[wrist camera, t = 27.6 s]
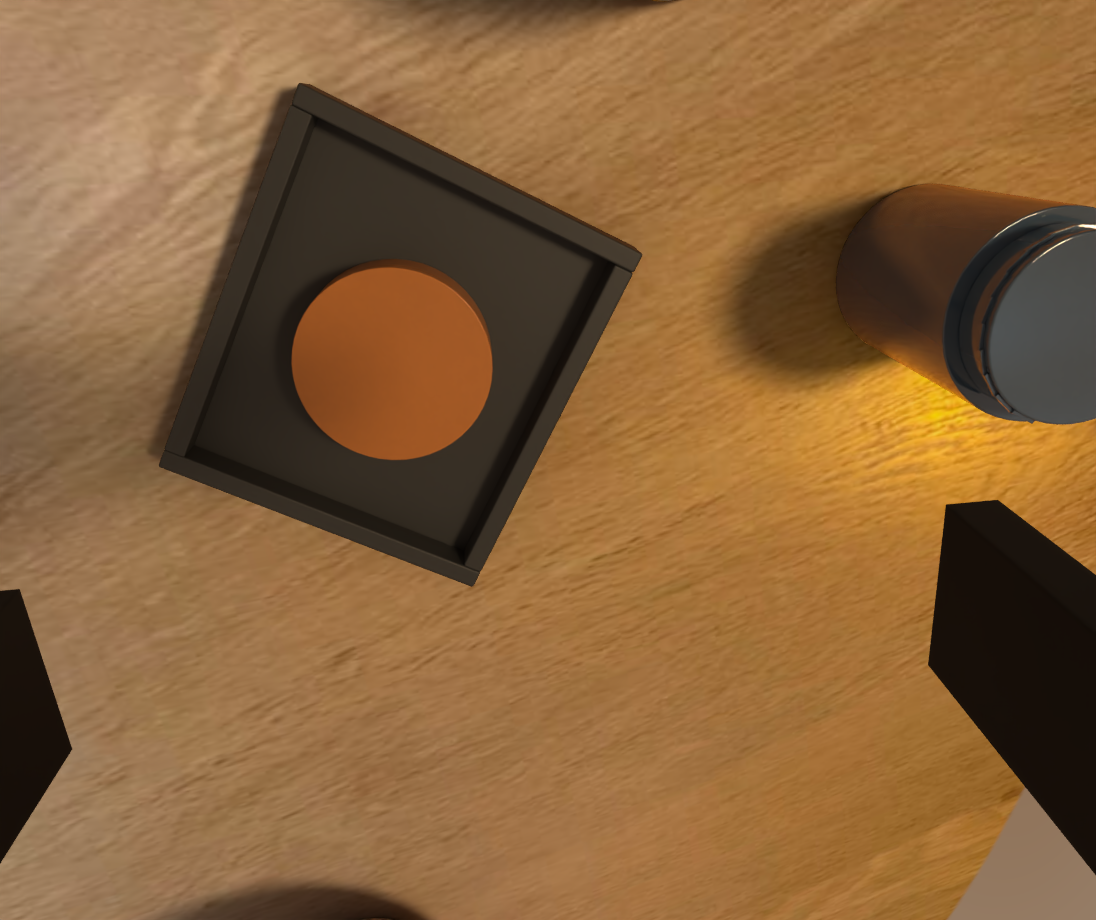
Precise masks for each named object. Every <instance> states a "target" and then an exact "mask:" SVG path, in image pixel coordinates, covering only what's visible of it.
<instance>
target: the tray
mask: <svg viewBox="0 0 1096 920" xmlns="http://www.w3.org/2000/svg"><path fill="white" fill-rule="evenodd" d="M641 257H642V253H641V252H639V251H638V250H637V249H636V248H635V247H634V246H632V245H630V244H628V243H626V242H624V241H622V240H620V239H618V238H616V237H614V236H612V235H610V234H608V233H606V232H604V231H602V230H600V229H598V228H596V227H594V226H592V225H590V224H588V223H586V222H584V221H582V220H580V219H578V218H576V217H574V216H572V215H570V214H568V213H566V212H564V211H562V210H560V209H558V208H556V207H554V206H552V205H550V204H548V203H546V202H544V201H542V200H540V199H538V198H536V197H534V196H532V195H530V194H528V193H526V192H524V191H522V190H520V189H518V188H516V187H514V186H512V185H510V184H508V183H506V182H504V181H502V180H500V179H498V178H496V177H494V176H492V175H490V174H488V173H486V172H484V171H482V170H480V169H478V168H476V167H474V166H472V165H470V164H468V163H466V162H464V161H462V160H460V159H458V158H456V157H454V156H452V155H450V154H448V153H446V152H444V151H442V150H440V149H438V148H436V147H434V146H432V145H430V144H428V143H426V142H424V141H422V140H420V139H418V138H416V137H414V136H412V135H410V134H408V133H406V132H404V131H402V130H400V129H398V128H396V127H394V126H392V125H390V124H388V123H386V122H384V121H382V120H380V119H378V118H376V117H374V116H372V115H370V114H368V113H366V112H364V111H362V110H360V109H358V108H356V107H354V106H352V105H350V104H348V103H346V102H344V101H342V100H340V99H338V98H336V97H334V96H332V95H330V94H328V93H326V92H324V91H322V90H320V89H318V88H316V87H314V86H312V85H310V84H303V83H299V84H298V86H297V89H296V92H295V94H294V97H293V100H292V105H290V107H289V110H288V113H287V116H286V118H285V121H284V124H283V127H282V129H281V132H280V135H279V138H278V140H277V143H276V146H275V148H274V151H273V154H272V157H271V159H270V162H269V165H268V168H267V170H266V173H265V176H264V178H263V181H262V184H261V187H260V189H259V192H258V195H257V198H256V200H255V203H254V206H253V208H252V211H251V214H250V217H249V219H248V222H247V225H246V228H245V230H244V233H243V236H242V239H241V241H240V244H239V247H238V249H237V252H236V255H235V258H234V260H233V263H232V266H231V269H230V271H229V274H228V277H227V279H226V282H225V285H224V288H223V290H222V293H221V296H220V299H219V301H218V304H217V307H216V310H215V312H214V315H213V318H212V320H211V323H210V326H209V329H208V331H207V334H206V337H205V340H204V342H203V345H202V348H201V350H200V353H199V356H198V359H197V361H196V364H195V367H194V370H193V372H192V375H191V378H190V380H189V383H188V386H187V389H186V391H185V394H184V397H183V400H182V402H181V405H180V408H179V411H178V413H177V416H176V419H175V421H174V424H173V427H172V430H171V432H170V435H169V438H168V441H167V443H166V446H165V450H164V452H163V455H162V457H161V460H160V463H159V467H161V468H164V469H166V470H169V471H172V472H174V473H177V474H179V475H182V476H185V477H187V478H190V479H193V480H195V481H198V482H200V483H203V484H206V485H208V486H211V487H213V488H216V489H219V490H221V491H224V492H226V493H229V494H232V495H234V496H237V497H239V498H242V499H245V500H247V501H250V502H252V503H255V504H258V505H260V506H263V507H265V508H268V509H271V510H273V511H276V512H279V513H281V514H284V515H286V516H289V517H292V518H294V519H297V520H299V521H302V522H305V523H307V524H310V525H312V526H315V527H318V528H320V529H323V530H325V531H328V532H331V533H333V534H336V535H338V536H341V537H344V538H346V539H349V540H351V541H354V542H357V543H359V544H362V545H365V546H367V547H370V548H372V549H375V550H378V551H380V552H383V553H385V554H388V555H391V556H393V557H396V558H398V559H401V560H404V561H406V562H409V563H411V564H414V565H417V566H419V567H422V568H424V569H427V570H430V571H432V572H435V573H437V574H440V575H443V576H445V577H448V578H451V579H453V580H456V581H458V582H461V583H464V584H466V585H469V586H474V584H475V582H476V580H477V578H478V576H479V574H480V571H481V570H482V568H483V566H484V564H485V562H486V560H487V558H488V556H489V555H490V553H491V551H492V549H493V547H494V545H495V543H496V541H497V539H498V537H499V535H500V533H501V531H502V529H503V527H504V525H505V523H506V521H507V519H508V517H509V515H510V513H511V511H512V510H513V508H514V506H515V504H516V502H517V500H518V498H519V496H520V494H521V492H522V490H523V488H524V486H525V484H526V482H527V480H528V478H529V476H530V474H531V472H532V470H533V468H534V466H535V465H536V463H537V461H538V459H539V457H540V455H541V453H542V451H543V449H544V447H545V445H546V443H547V441H548V439H549V437H550V435H551V433H552V431H553V429H554V427H555V425H556V423H557V421H558V419H559V418H560V416H561V414H562V412H563V410H564V408H565V406H566V404H567V402H568V400H569V398H570V396H571V394H572V392H573V390H574V388H575V386H576V384H577V382H578V380H579V378H580V376H581V374H582V373H583V371H584V369H585V367H586V365H587V363H588V361H589V359H590V357H591V355H592V353H593V351H594V349H595V347H596V345H597V343H598V341H599V339H600V337H601V335H602V333H603V331H604V329H605V328H606V326H607V324H608V322H609V320H610V318H611V316H612V314H613V312H614V310H615V308H616V306H617V304H618V302H619V300H620V298H621V296H622V294H623V292H624V290H625V288H626V286H627V284H628V282H629V281H630V279H631V277H632V272H634V271H635V269H636V267H637V265H638V263H639V261H640V259H641ZM382 259H402V260H410V261H414V262H418V263H422V264H425V265H428V266H430V267H433V268H435V269H437V270H439V271H441V272H442V273H444V274H446V275H447V276H449V277H450V278H452V279H453V280H454V281H456V282H457V283H458V284H459V285H460V286H461V287H462V288H463V289H464V290H465V291H466V292H467V293H468V294H469V295H470V297H471V298H472V299H473V300H474V302H475V303H476V305H477V306H478V308H479V310H480V311H481V313H482V316H483V318H484V320H485V322H486V325H487V329H488V332H489V336H490V342H491V350H492V367H493V372H492V381H491V387H490V391H489V395H488V397H487V400H486V402H485V405H484V407H483V409H482V411H481V413H480V414H479V416H478V418H477V419H476V420H475V422H474V423H473V424H472V426H471V427H470V428H469V429H468V430H467V431H466V432H465V433H464V434H463V435H462V436H461V437H460V438H458V439H457V440H456V441H454V442H453V443H452V444H450V445H448V446H447V447H445V448H443V449H441V450H439V451H437V452H434V453H432V454H429V455H426V456H422V457H419V458H413V459H407V460H387V459H378V458H374V457H369V456H366V455H363V454H360V453H357V452H354V451H352V450H350V449H348V448H346V447H344V446H343V445H341V444H339V443H338V442H336V441H335V440H333V439H332V438H331V437H330V436H328V435H327V434H326V433H325V432H323V431H322V429H321V428H320V427H319V426H318V425H317V424H316V423H315V422H314V421H313V419H312V418H311V417H310V415H309V414H308V413H307V411H306V409H305V407H304V406H303V404H302V402H301V400H300V398H299V395H298V393H297V390H296V387H295V383H294V379H293V373H292V364H291V362H292V347H293V341H294V336H295V333H296V330H297V327H298V325H299V322H300V320H301V318H302V316H303V314H304V313H305V311H306V310H307V308H308V307H309V305H310V304H311V303H312V301H313V300H314V299H315V298H316V297H317V295H318V294H319V293H320V292H321V291H322V290H323V289H324V287H325V286H326V285H327V284H328V283H330V282H331V281H332V280H333V279H334V278H336V277H337V276H338V275H340V274H342V273H343V272H345V271H346V270H348V269H350V268H353V267H355V266H357V265H360V264H363V263H366V262H370V261H375V260H382Z"/></svg>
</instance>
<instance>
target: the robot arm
mask: <svg viewBox="0 0 1096 920" xmlns="http://www.w3.org/2000/svg"><path fill="white" fill-rule="evenodd" d="M928 665H929V667H930V668H931V669H932V670H933V672H934V673H935V674H936V675H937V677H938V678H939V679H940V680H941V682H942V683H943V684H944V685H945V687H946V688H947V689H948V690H949V692H950V693H951V694H952V695H953V697H954V698H955V699H956V700H957V702H958V703H959V704H960V705H961V707H962V708H963V709H964V710H965V712H966V713H967V714H968V715H969V717H970V718H971V719H972V720H973V722H974V723H975V724H976V726H977V727H978V728H979V729H980V731H981V732H982V733H983V734H984V736H985V737H986V738H987V739H988V741H989V742H990V743H991V744H992V746H993V747H994V748H995V749H996V751H997V752H998V753H999V754H1000V756H1001V757H1002V758H1003V759H1004V761H1005V762H1006V763H1007V764H1008V766H1009V767H1010V768H1011V769H1012V771H1013V772H1014V773H1015V774H1016V776H1017V777H1018V778H1019V779H1020V781H1021V782H1022V783H1023V784H1024V786H1025V787H1026V788H1027V789H1028V791H1029V792H1030V793H1031V794H1032V796H1033V797H1034V798H1035V799H1036V801H1037V802H1038V803H1039V804H1040V806H1041V807H1042V808H1043V809H1044V811H1045V812H1046V813H1047V814H1048V816H1049V817H1050V818H1051V820H1052V821H1053V822H1054V823H1055V825H1056V826H1057V827H1058V828H1059V830H1061V832H1062V833H1063V835H1064V836H1065V837H1066V838H1067V840H1068V841H1069V842H1070V843H1071V845H1072V846H1073V847H1074V848H1075V850H1076V851H1077V852H1078V853H1079V855H1080V856H1081V857H1082V858H1083V860H1084V861H1085V862H1086V863H1087V865H1088V866H1089V867H1090V868H1091V870H1092V871H1093V872H1094V873H1095V875H1096V575H1095V574H1094V573H1092V572H1091V571H1090V570H1088V569H1087V568H1086V567H1084V566H1083V565H1082V564H1081V563H1079V562H1078V561H1077V560H1075V559H1074V558H1073V557H1071V556H1070V555H1069V554H1067V553H1066V552H1065V551H1064V550H1062V549H1061V548H1060V547H1058V546H1057V545H1056V544H1054V543H1053V542H1052V541H1051V540H1049V539H1048V538H1047V537H1045V536H1044V535H1043V534H1041V533H1040V532H1039V531H1038V530H1036V529H1035V528H1034V527H1032V526H1031V525H1030V524H1028V523H1027V522H1026V521H1024V520H1023V519H1022V518H1021V517H1019V516H1018V515H1017V514H1015V513H1014V512H1013V511H1011V510H1010V509H1009V508H1008V507H1006V506H1005V505H1004V504H1002V503H1001V502H1000V501H998V500H992V501H981V502H970V503H959V504H948V505H946V510H945V519H944V528H943V537H942V546H941V555H940V564H939V573H938V582H937V591H936V599H935V608H934V617H933V626H932V635H931V644H930V653H929V662H928ZM71 750H72V747H71V744H70V741H69V738H68V735H67V732H66V729H65V726H64V723H63V720H62V717H61V714H60V711H59V708H58V705H57V702H56V699H55V696H54V693H53V690H52V686H51V683H50V680H49V677H48V674H47V671H46V668H45V665H44V662H43V659H42V656H41V653H40V650H39V647H38V644H37V641H36V638H35V635H34V632H33V629H32V626H31V623H30V620H29V617H28V613H27V610H26V607H25V604H24V601H23V598H22V595H21V592H20V589H16V590H5V591H0V863H1V861H2V860H3V858H4V857H5V855H6V853H7V852H8V850H9V849H10V847H11V846H12V844H13V842H14V841H15V839H16V838H17V836H18V834H19V833H20V831H21V830H22V828H23V826H24V825H25V823H26V822H27V820H28V819H29V817H30V815H31V814H32V812H33V811H34V809H35V807H36V806H37V804H38V803H39V801H40V800H41V798H42V796H43V795H44V793H45V792H46V790H47V788H48V787H49V785H50V784H51V782H52V781H53V779H54V777H55V776H56V774H57V773H58V771H59V769H60V768H61V766H62V765H63V763H64V761H65V760H66V758H67V757H68V755H69V754H70V752H71Z"/></svg>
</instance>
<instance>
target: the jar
mask: <svg viewBox="0 0 1096 920" xmlns="http://www.w3.org/2000/svg"><path fill="white" fill-rule="evenodd" d="M836 291H837V298H838V303H839V306H840V310H841V312H842V314H843V317H844V319H845V321H846V322H847V324H848V325H849V327H850V329H851V330H852V331H853V332H854V333H855V334H856V335H857V336H858V337H859V338H860V339H861V340H863V341H864V342H865V343H867V344H868V345H870V346H872V347H873V348H875V349H877V350H879V351H880V352H882V353H884V354H885V355H887V356H889V357H891V358H892V359H894V360H896V361H897V362H899V363H901V364H903V365H904V366H906V367H908V368H909V369H911V370H913V371H915V372H916V373H918V374H920V375H921V376H923V377H925V378H927V379H928V380H930V381H932V382H934V383H935V384H937V385H939V386H940V387H942V388H944V389H946V390H947V391H949V392H951V393H952V394H954V395H956V396H958V397H959V398H961V399H963V400H964V401H966V402H968V403H970V404H971V405H973V406H975V407H976V408H978V409H980V410H982V411H983V412H985V413H987V414H990V415H992V416H995V417H998V418H1002V419H1006V420H1012V421H1028V422H1030V423H1033V422H1034V421H1039V422H1043V423H1048V424H1057V425H1058V424H1074V423H1080V422H1085V421H1088V420H1092V419H1095V418H1096V208H1094V207H1089V206H1082V205H1076V204H1069V203H1063V202H1056V201H1049V200H1043V199H1036V198H1030V197H1023V196H1016V195H1010V194H1003V193H997V192H990V191H983V190H977V189H970V188H964V187H957V186H950V185H943V184H922V185H915V186H912V187H908V188H905V189H902V190H900V191H897V192H895V193H893V194H891V195H889V196H888V197H886V198H884V199H883V200H881V201H880V202H879V203H877V204H876V205H875V206H873V207H872V208H871V209H870V210H869V211H868V212H867V213H866V214H865V215H864V216H863V217H862V218H861V220H860V221H859V222H858V223H857V224H856V226H855V227H854V229H853V230H852V232H851V233H850V235H849V237H848V239H847V241H846V243H845V245H844V247H843V250H842V253H841V255H840V259H839V263H838V267H837V276H836Z"/></svg>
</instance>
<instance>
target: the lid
mask: <svg viewBox="0 0 1096 920" xmlns="http://www.w3.org/2000/svg"><path fill="white" fill-rule="evenodd" d="M291 364H292V373H293V379H294V383H295V387H296V390H297V393H298V395H299V398H300V400H301V402H302V404H303V406H304V407H305V409H306V411H307V413H308V414H309V415H310V417H311V418H312V419H313V421H314V422H315V423H316V424H317V425H318V426H319V427H320V428H321V429H322V431H323V432H325V433H326V434H327V435H328V436H330V437H331V438H332V439H333V440H335V441H336V442H338V443H339V444H341V445H343V446H344V447H346V448H348V449H350V450H352V451H354V452H357V453H360V454H363V455H366V456H369V457H374V458H378V459H387V460H407V459H413V458H419V457H422V456H426V455H429V454H432V453H434V452H437V451H439V450H441V449H443V448H445V447H447V446H448V445H450V444H452V443H453V442H454V441H456V440H457V439H458V438H460V437H461V436H462V435H463V434H464V433H465V432H466V431H467V430H468V429H469V428H470V427H471V426H472V424H473V423H474V422H475V420H476V419H477V418H478V416H479V414H480V413H481V411H482V409H483V407H484V405H485V402H486V400H487V397H488V395H489V391H490V387H491V381H492V372H493V367H492V350H491V342H490V336H489V332H488V329H487V325H486V322H485V320H484V318H483V316H482V313H481V311H480V310H479V308H478V306H477V305H476V303H475V302H474V300H473V299H472V298H471V297H470V295H469V294H468V293H467V292H466V291H465V290H464V289H463V288H462V287H461V286H460V285H459V284H458V283H457V282H456V281H454V280H453V279H452V278H450V277H449V276H447V275H446V274H444V273H442V272H441V271H439V270H437V269H435V268H433V267H430V266H428V265H425V264H422V263H418V262H414V261H410V260H402V259H382V260H375V261H370V262H366V263H363V264H360V265H357V266H355V267H353V268H350V269H348V270H346V271H345V272H343V273H342V274H340V275H338V276H337V277H336V278H334V279H333V280H332V281H331V282H330V283H328V284H327V285H326V286H325V287H324V289H323V290H322V291H321V292H320V293H319V294H318V295H317V297H316V298H315V299H314V300H313V301H312V303H311V304H310V305H309V307H308V308H307V310H306V311H305V313H304V314H303V316H302V318H301V320H300V322H299V325H298V327H297V330H296V333H295V336H294V341H293V347H292V362H291Z"/></svg>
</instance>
